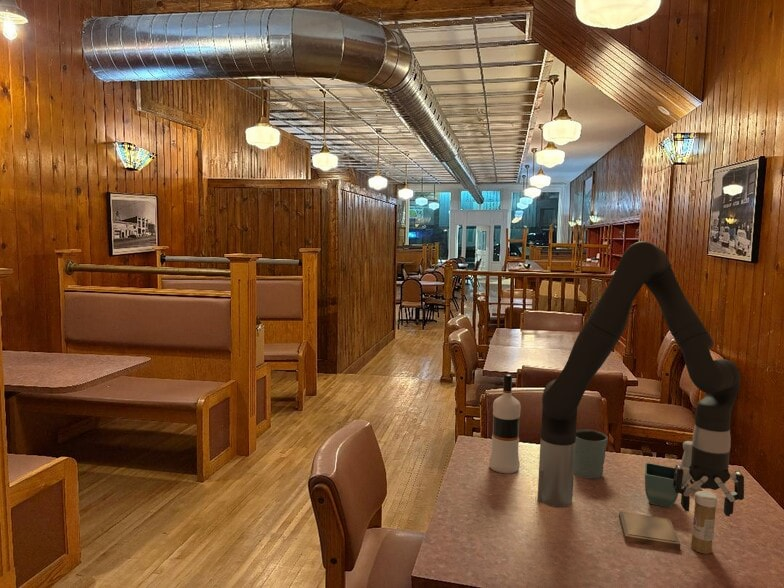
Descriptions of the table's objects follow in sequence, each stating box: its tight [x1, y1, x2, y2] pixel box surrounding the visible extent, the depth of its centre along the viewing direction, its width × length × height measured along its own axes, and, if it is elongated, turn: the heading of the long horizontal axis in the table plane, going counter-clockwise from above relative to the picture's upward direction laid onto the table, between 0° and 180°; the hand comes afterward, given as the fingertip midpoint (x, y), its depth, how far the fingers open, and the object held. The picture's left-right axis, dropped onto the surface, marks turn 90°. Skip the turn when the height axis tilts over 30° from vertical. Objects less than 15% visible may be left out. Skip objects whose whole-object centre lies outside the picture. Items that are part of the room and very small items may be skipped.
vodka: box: [488, 373, 521, 475], centre depth 171 cm, size 9×9×30 cm
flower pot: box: [644, 462, 679, 508], centre depth 152 cm, size 9×9×9 cm
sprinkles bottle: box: [690, 490, 718, 554], centre depth 129 cm, size 5×5×13 cm
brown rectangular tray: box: [618, 511, 681, 551], centre depth 137 cm, size 12×12×2 cm
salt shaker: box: [679, 440, 693, 487], centre depth 163 cm, size 6×6×13 cm
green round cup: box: [574, 429, 609, 480], centre depth 170 cm, size 10×10×12 cm
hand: (706, 512), depth 129 cm, fingers open, 8 cm apart
